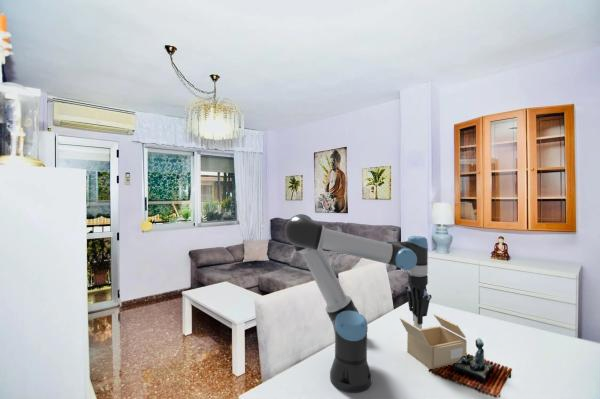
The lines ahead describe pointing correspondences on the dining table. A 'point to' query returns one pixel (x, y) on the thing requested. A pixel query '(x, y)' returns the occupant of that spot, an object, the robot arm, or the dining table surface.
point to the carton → (437, 347)
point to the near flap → (414, 331)
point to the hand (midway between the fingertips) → (417, 330)
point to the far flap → (449, 325)
